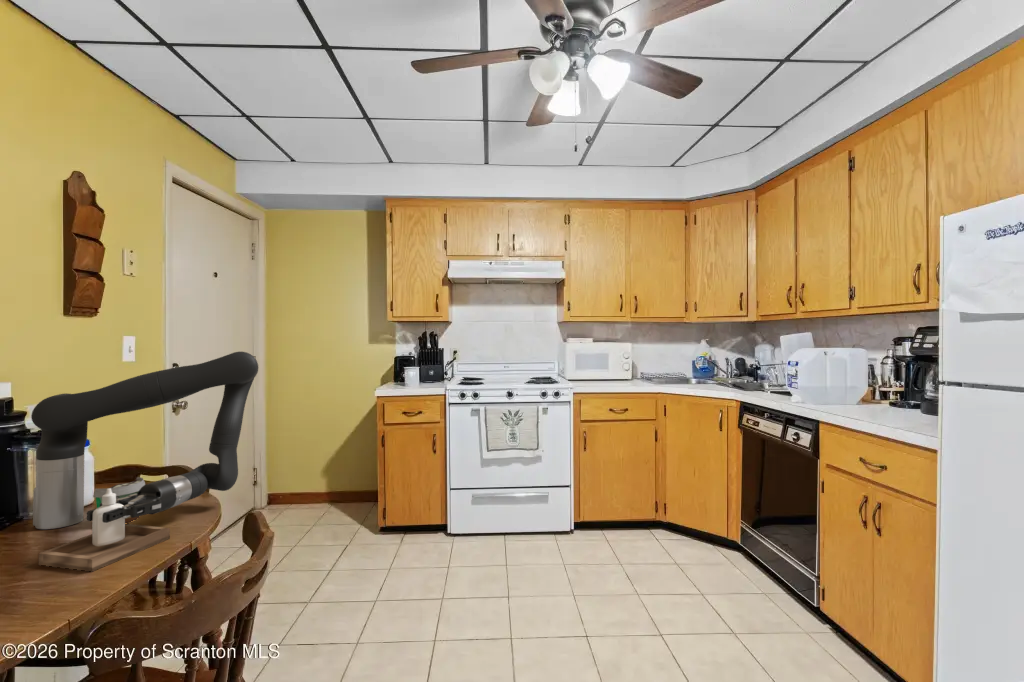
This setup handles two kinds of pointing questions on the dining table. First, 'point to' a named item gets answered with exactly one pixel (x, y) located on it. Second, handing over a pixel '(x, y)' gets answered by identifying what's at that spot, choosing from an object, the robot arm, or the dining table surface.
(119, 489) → the food container
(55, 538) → the dining table surface
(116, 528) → the eye dropper bottle
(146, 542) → the walnut tray
